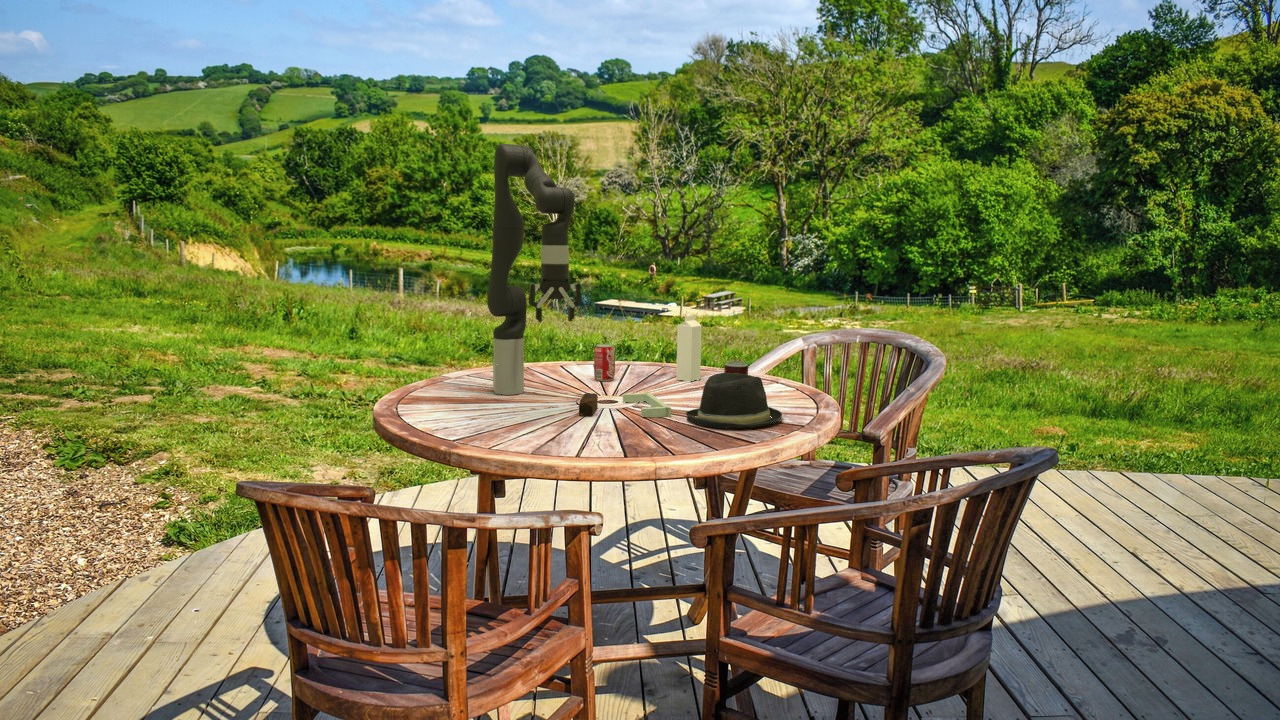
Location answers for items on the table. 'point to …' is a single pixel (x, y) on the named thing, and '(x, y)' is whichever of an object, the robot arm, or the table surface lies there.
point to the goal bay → (657, 405)
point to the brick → (588, 404)
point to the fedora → (734, 403)
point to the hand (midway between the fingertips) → (555, 321)
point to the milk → (689, 349)
